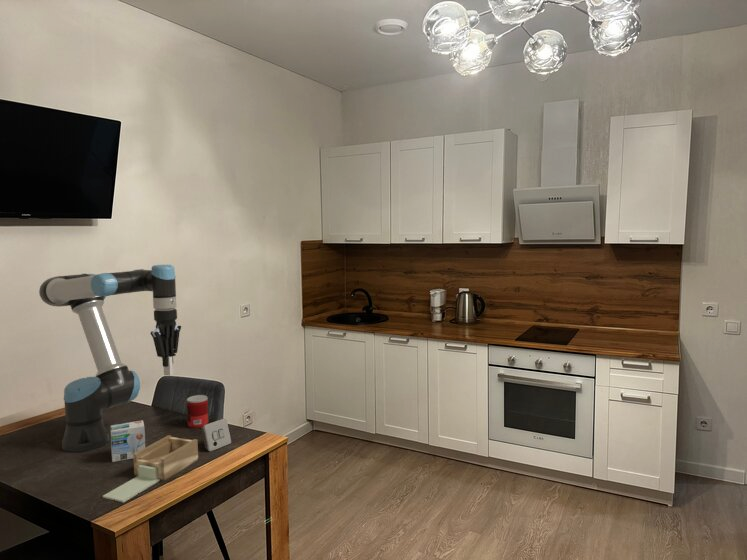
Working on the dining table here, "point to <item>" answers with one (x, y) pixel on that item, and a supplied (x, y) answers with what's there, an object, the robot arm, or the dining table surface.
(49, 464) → the dining table surface
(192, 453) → the pencil box
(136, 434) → the light bulb box
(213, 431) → the electrical switch
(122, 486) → the lid
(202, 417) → the canned food
